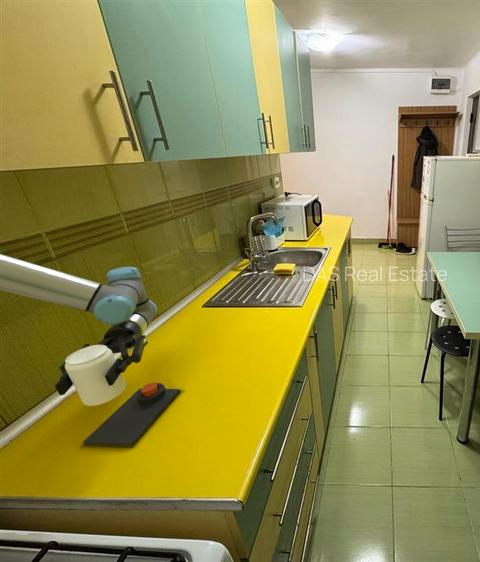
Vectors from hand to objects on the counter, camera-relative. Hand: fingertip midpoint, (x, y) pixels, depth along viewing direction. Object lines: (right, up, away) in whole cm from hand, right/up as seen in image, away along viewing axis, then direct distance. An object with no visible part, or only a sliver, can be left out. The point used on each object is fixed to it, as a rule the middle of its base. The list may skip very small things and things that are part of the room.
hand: (84, 385), depth 66 cm
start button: (0, -8, +19) cm, 21 cm away
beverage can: (-1, -5, +7) cm, 9 cm away
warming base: (0, -13, +14) cm, 19 cm away
